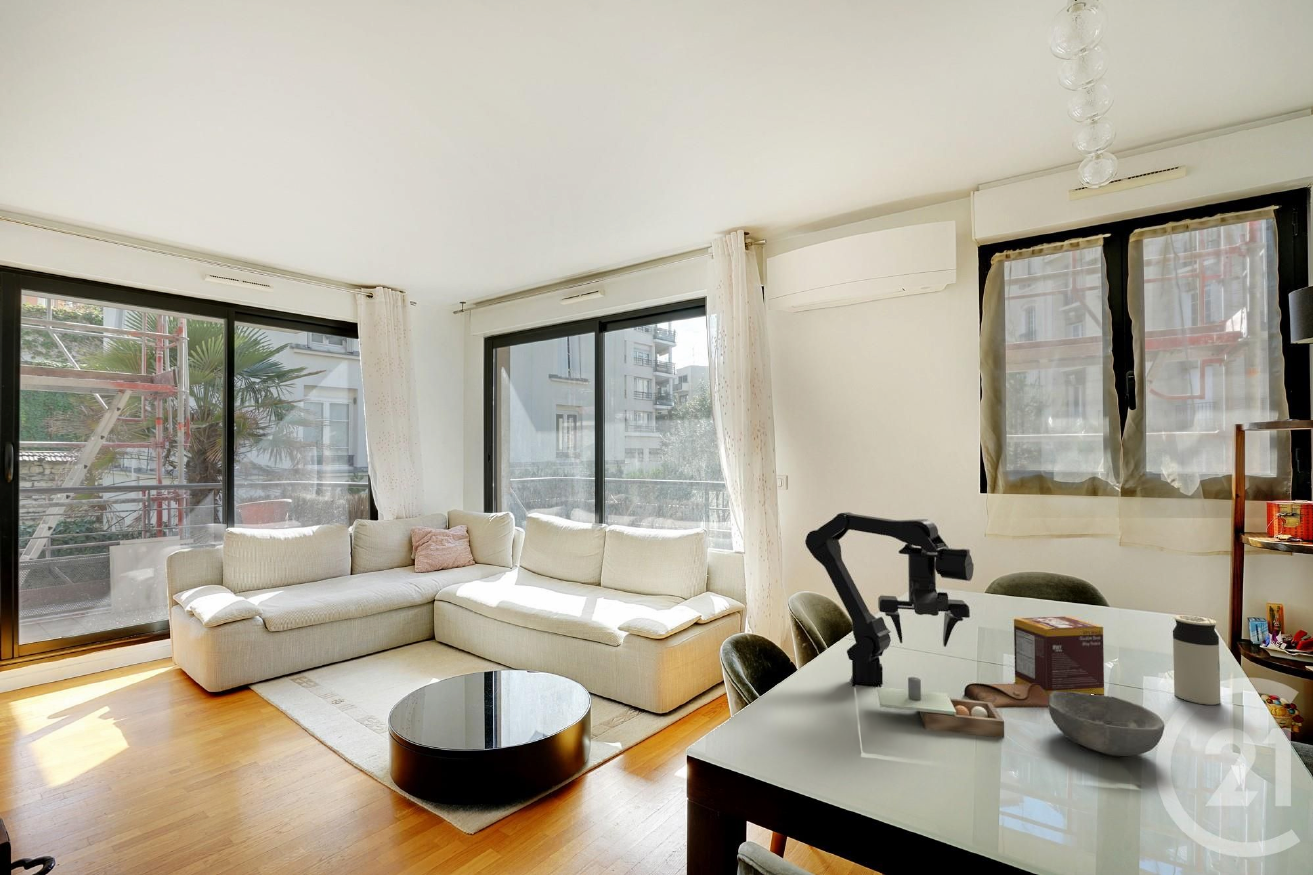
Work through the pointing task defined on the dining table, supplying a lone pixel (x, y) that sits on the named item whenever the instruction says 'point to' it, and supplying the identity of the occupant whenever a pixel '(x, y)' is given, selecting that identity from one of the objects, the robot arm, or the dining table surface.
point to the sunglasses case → (1008, 694)
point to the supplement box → (1059, 654)
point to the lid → (915, 699)
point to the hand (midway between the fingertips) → (922, 644)
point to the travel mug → (1196, 660)
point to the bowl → (1105, 723)
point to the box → (966, 720)
